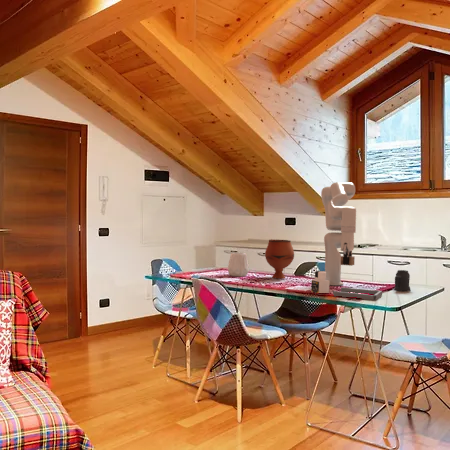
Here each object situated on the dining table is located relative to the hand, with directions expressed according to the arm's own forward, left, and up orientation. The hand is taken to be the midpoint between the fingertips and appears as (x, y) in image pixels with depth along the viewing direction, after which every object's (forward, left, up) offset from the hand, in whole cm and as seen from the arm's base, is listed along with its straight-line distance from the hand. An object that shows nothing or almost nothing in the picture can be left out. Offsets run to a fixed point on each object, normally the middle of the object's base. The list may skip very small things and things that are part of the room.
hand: (347, 263), depth 267 cm
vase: (-82, +33, -17) cm, 90 cm away
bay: (+6, 0, -17) cm, 18 cm away
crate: (0, 0, -1) cm, 1 cm away
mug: (+23, +32, -17) cm, 43 cm away
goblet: (-55, +39, -17) cm, 70 cm away
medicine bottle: (-14, -2, -17) cm, 22 cm away
